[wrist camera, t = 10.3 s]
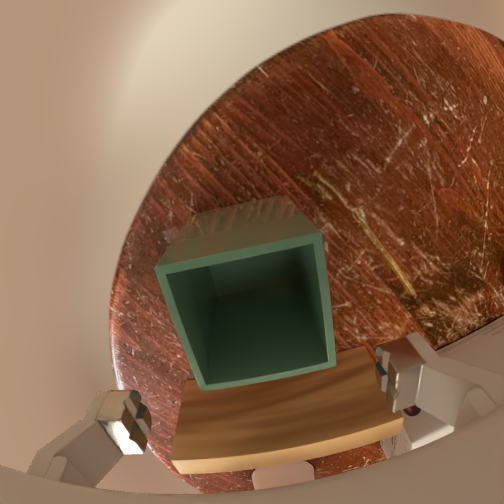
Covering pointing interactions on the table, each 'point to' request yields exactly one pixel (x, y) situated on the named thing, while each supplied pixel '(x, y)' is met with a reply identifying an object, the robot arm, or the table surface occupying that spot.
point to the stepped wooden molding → (283, 418)
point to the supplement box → (465, 350)
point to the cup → (282, 475)
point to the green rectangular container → (249, 294)
